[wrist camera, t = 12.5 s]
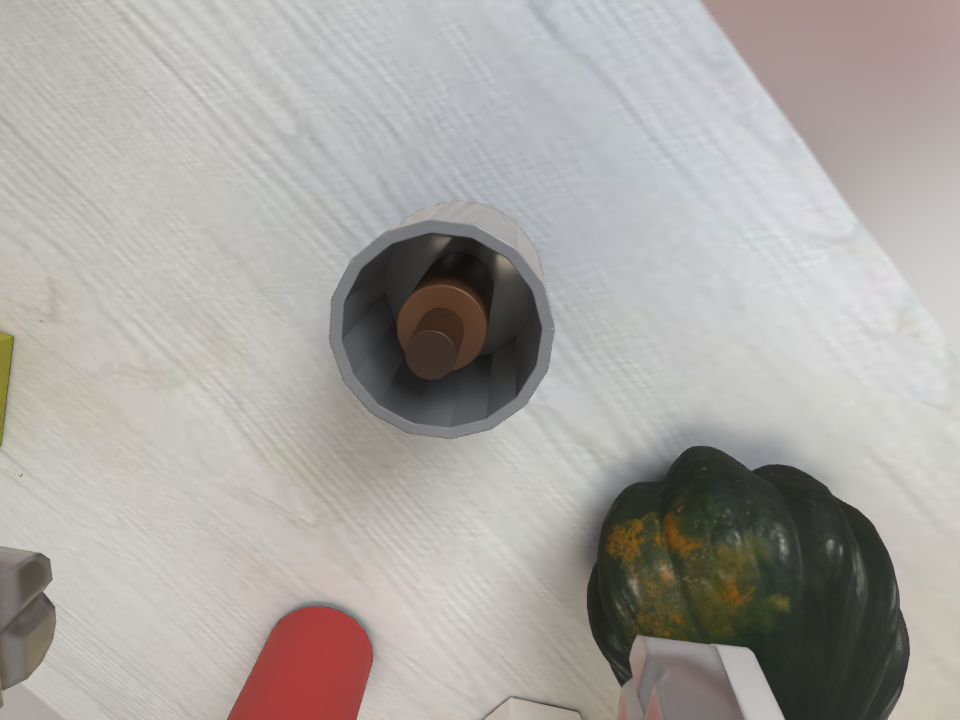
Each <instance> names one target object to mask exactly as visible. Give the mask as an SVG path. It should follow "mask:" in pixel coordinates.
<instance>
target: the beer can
mask: <svg viewBox="0 0 960 720" xmlns="http://www.w3.org/2000/svg"><path fill="white" fill-rule="evenodd" d="M372 662H373V653H372V645H371V642H370V640H369V638H368V636H367V634H366V632H365V630H364V629H363V628H362V627H361V626H360V625H359V624H358V623H357V622H356V620H354V619H353V618H351V617H350V616H348V615H346V614H345V613H343V612H341V611H338V610H335V609H331V608H328V607H306V608H302V609H298V610H295V611H293V612H291V613H290V614H288V615H287V616H285V617H283V618H282V619H280V620H279V622H278V623H277V625H276V626H275V627H274V629H273V630H272V632H271V634H270V635H269V637H268V639H267V641H266V643H265V645H264V647H263V649H262V651H261V653H260V655H259V657H258V659H257V661H256V663H255V665H254V667H253V669H252V671H251V673H250V675H249V677H248V679H247V681H246V683H245V685H244V687H243V689H242V691H241V693H240V695H239V697H238V699H237V701H236V703H235V704H234V706H233V708H232V710H231V712H230V714H229V716H228V718H227V720H356V719H357V715H358V712H359V708H360V705H361V701H362V698H363V694H364V691H365V687H366V683H367V680H368V676H369V673H370V669H371V666H372Z"/></svg>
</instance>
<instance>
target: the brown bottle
mask: <svg viewBox="0 0 960 720" xmlns="http://www.w3.org/2000/svg"><path fill="white" fill-rule="evenodd" d="M493 292H494V284H493V279H492V276H491V273H490V271H489V270H488V268H487V267H486V265H485V264H484V263H483V262H482V261H481V260H479V259H478V258H476V257H474V256H472V255H470V254H466V253H459V252H457V253H450V254H446V255H444V256H442V257H440V258H438V259H437V260H436V261H435V262H434V263H433V264H432V265H431V266H430V267H429V269H428V270H427V271H426V273H425V274H424V276H423V277H422V278H421V280H420V281H419V283H418V284H417V285H416V287H415V288H414V289H413V291H412V292H411V294H410V295H409V296H408V298H407V299H406V301H405V302H404V304H403V305H402V307H401V309H400V311H399V314H398V317H397V327H396V329H397V336H398V340H399V343H400V345H401V347H402V349H403V351H404V352H405V358H406V362H407V364H408V366H409V368H410V369H411V370H412V372H413V373H415V374H416V375H417V376H419V377H421V378H424V379H428V380H435V379H440V378H442V377H445V376H446V375H448V374H449V373H450V372H451V371H456V370H459V369H461V368H463V367H465V366H467V365H468V364H470V363H471V362H472V361H474V360H475V359H476V357H477V356H478V355H479V354H480V352H481V351H482V349H483V347H484V344H485V341H486V336H487V330H488V324H489V318H490V311H491V305H492V298H493Z"/></svg>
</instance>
